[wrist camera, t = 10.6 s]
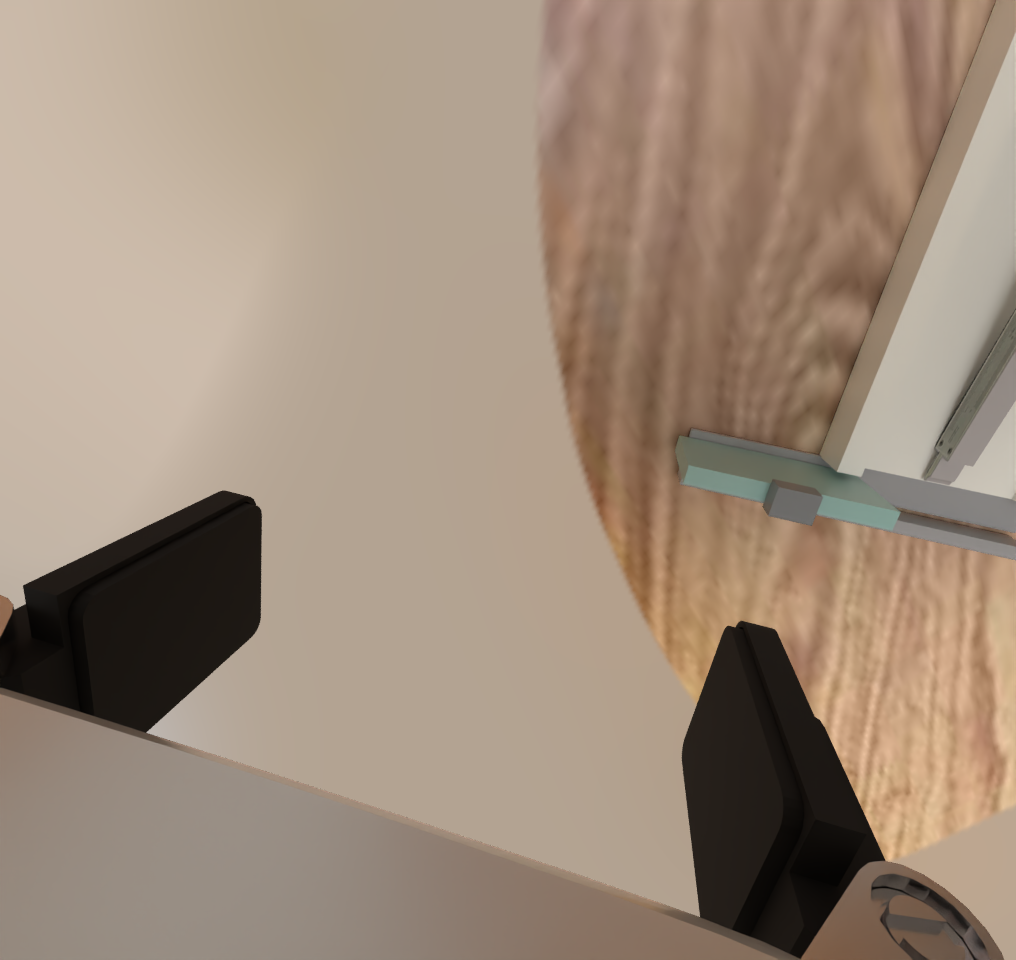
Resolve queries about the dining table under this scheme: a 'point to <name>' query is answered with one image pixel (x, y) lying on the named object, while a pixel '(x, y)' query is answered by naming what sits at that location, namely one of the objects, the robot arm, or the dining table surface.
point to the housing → (939, 326)
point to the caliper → (978, 410)
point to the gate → (783, 484)
